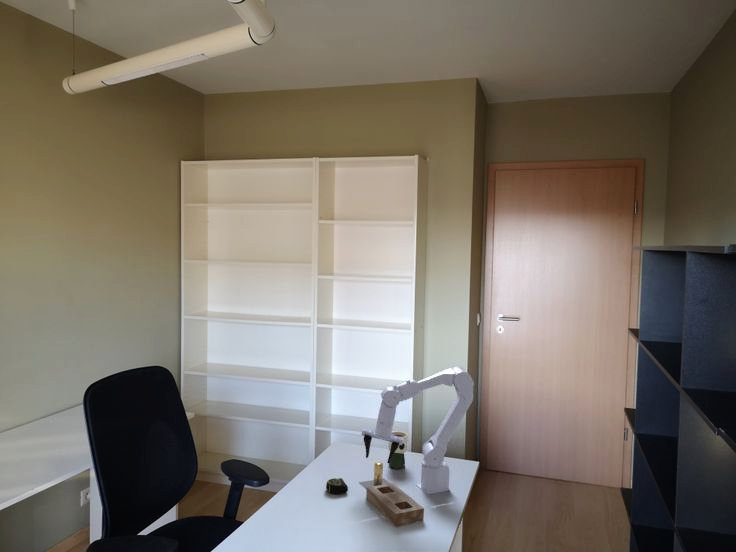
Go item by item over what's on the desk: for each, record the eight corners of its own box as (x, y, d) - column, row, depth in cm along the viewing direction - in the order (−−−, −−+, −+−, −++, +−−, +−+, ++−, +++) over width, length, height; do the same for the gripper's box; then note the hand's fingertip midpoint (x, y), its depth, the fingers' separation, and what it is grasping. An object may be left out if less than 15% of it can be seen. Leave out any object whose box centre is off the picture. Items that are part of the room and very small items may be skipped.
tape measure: (348, 495, 196) (348, 484, 196) (328, 497, 194) (329, 486, 194) (343, 487, 203) (343, 476, 202) (323, 488, 200) (324, 478, 200)
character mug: (396, 474, 215) (398, 440, 214) (381, 469, 219) (382, 435, 218) (412, 465, 224) (413, 432, 223) (396, 460, 228) (398, 428, 227)
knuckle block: (392, 494, 198) (392, 482, 198) (423, 520, 180) (423, 508, 180) (366, 499, 194) (366, 487, 193) (395, 526, 176) (395, 513, 175)
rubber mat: (383, 479, 210) (383, 478, 210) (397, 490, 201) (397, 489, 201) (358, 483, 206) (358, 482, 206) (371, 495, 197) (371, 494, 197)
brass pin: (379, 483, 205) (380, 461, 205) (383, 486, 203) (384, 464, 202) (372, 484, 204) (373, 462, 203) (375, 488, 201) (376, 465, 201)
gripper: (363, 420, 198) (355, 458, 199) (404, 430, 196) (396, 468, 197) (366, 414, 205) (359, 451, 206) (406, 424, 203) (398, 461, 204)
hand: (377, 459), depth 202 cm, fingers open, 7 cm apart
